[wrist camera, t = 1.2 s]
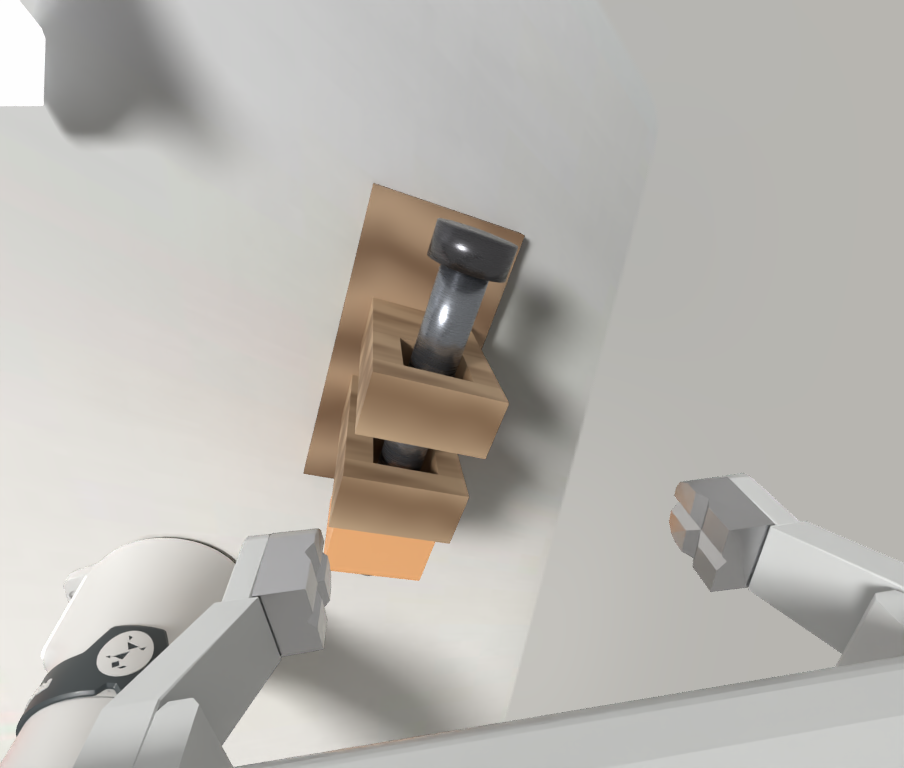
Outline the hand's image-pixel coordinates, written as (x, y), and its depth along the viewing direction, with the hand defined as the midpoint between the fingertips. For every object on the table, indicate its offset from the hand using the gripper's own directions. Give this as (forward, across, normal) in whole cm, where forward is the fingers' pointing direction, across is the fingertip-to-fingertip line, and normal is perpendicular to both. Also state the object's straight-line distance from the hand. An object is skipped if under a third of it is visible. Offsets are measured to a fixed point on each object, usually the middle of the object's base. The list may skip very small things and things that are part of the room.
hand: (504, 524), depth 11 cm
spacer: (+23, +6, +18) cm, 29 cm away
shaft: (+21, +2, +9) cm, 23 cm away
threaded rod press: (+30, +2, +9) cm, 31 cm away
